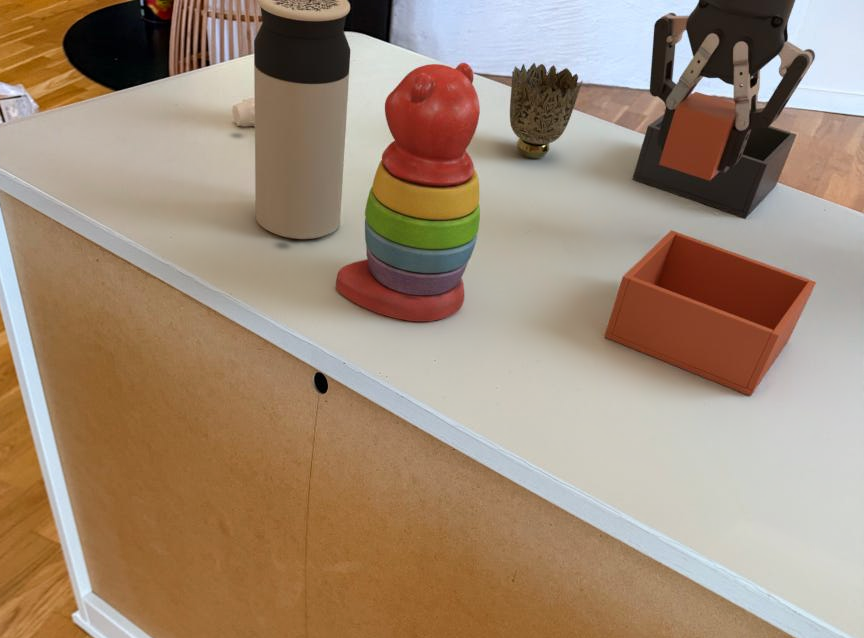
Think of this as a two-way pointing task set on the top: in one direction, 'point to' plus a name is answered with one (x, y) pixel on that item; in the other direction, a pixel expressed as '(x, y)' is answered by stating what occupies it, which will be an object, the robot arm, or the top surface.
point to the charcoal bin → (724, 190)
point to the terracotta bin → (708, 310)
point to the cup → (541, 107)
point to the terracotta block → (698, 135)
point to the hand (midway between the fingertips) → (694, 159)
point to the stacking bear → (421, 201)
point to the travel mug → (300, 115)
